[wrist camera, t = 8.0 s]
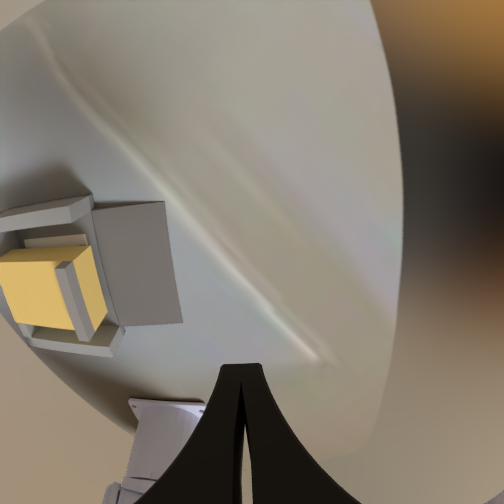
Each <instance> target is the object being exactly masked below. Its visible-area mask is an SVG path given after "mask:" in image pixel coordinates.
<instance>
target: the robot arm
mask: <svg viewBox="0 0 504 504" xmlns="http://www.w3.org/2000/svg"><path fill="white" fill-rule="evenodd" d="M128 403H129V405H130V407H131V409H132V411H133V413H134V414H135V416H136V418H137V420H138V422H139V423H138V426H137V430H136V434H135V438H134V442H133V446H132V450H131V454H130V458H129V463H128V467H127V471H126V476H125V477H124V478H123V483H122V487H120V486H121V484H120V483H117V482H114V483H113V484H110V485H108V486H107V489H106V491H105V495H104V499H103V503H102V504H242V485H241V477H242V459H243V444H244V429H245V427H246V433H247V440H248V447H249V453H250V460H251V472H252V493H253V504H361V503H360V502H359V501H357V500H356V499H355V498H354V497H352V496H351V495H350V494H349V493H347V492H346V491H345V490H344V489H343V488H342V487H340V486H339V485H338V484H337V483H336V482H335V481H334V480H333V479H332V478H331V477H330V476H329V475H328V474H327V473H326V472H325V471H324V470H323V469H322V468H321V467H320V466H319V464H317V462H316V461H315V460H314V459H313V457H312V456H311V455H310V454H309V453H308V451H307V450H306V449H305V448H304V446H303V445H302V444H301V442H300V441H299V440H298V438H297V437H296V435H295V434H294V432H293V431H292V429H291V428H290V426H289V425H288V423H287V421H286V420H285V418H284V416H283V415H282V413H281V411H280V409H279V407H278V405H277V404H276V402H275V400H274V398H273V396H272V393H271V391H270V389H269V387H268V384H267V381H266V379H265V376H264V373H263V369H262V365H261V364H259V363H247V364H223V365H222V366H221V368H220V372H219V376H218V379H217V382H216V385H215V387H214V390H213V392H212V395H211V397H210V399H209V402H208V404H207V406H206V404H204V403H194V402H171V401H156V400H145V399H135V398H130V399H129V400H128ZM484 504H504V490H503V491H502V492H500V493H499V494H498V495H496V496H495V497H494V498H492V499H491V500H489V501H488V502H486V503H484Z"/></svg>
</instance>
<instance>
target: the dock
mask: <svg viewBox="0 0 504 504" xmlns="http://www.w3.org/2000/svg"><path fill="white" fill-rule="evenodd" d="M79 245H91V249H92V253H93V258H94V262H95V266H96V271H97V275H98V279H99V282H100V286H101V290H102V294H103V297H104V301H105V304H106V307H107V311H108V312H107V314H106V315H105V317H104V319H103V320H102V322H101V323H100V325H99V327H98V328H97V330H96V332H95V333H94V335H93V337H92V338H91V340H90V342H86V341H79V339H78V336H77V334H76V332H75V330H68V329H59V328H52V327H44V326H37V325H30V324H24V323H18V322H17V323H18V325H19V327H20V329H21V331H22V333H23V335H24V337H25V339H26V341H27V343H28V345H29V346H33V347H38V348H44V349H50V350H56V351H62V352H69V353H77V354H85V355H93V356H103V357H114V355H115V352H116V350H117V348H118V346H119V344H120V342H121V340H122V338H123V336H124V334H125V329H124V326H140V325H158V324H173V323H183V320H182V315H181V310H180V304H179V299H178V293H177V287H176V281H175V275H174V269H173V263H172V256H171V249H170V242H169V235H168V227H167V219H166V210H165V202H153V203H142V204H132V205H122V206H113V207H104V208H96V209H95V206H94V199H93V194H90V195H83V196H77V197H71V198H65V199H59V200H53V201H47V202H42V203H37V204H32V205H27V206H22V207H17V208H12V209H8V210H6V211H4V212H2V213H0V257H2V256H3V255H5V254H6V253H8V252H9V251H10V250H12V249H25V248H46V247H65V246H79Z"/></svg>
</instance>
